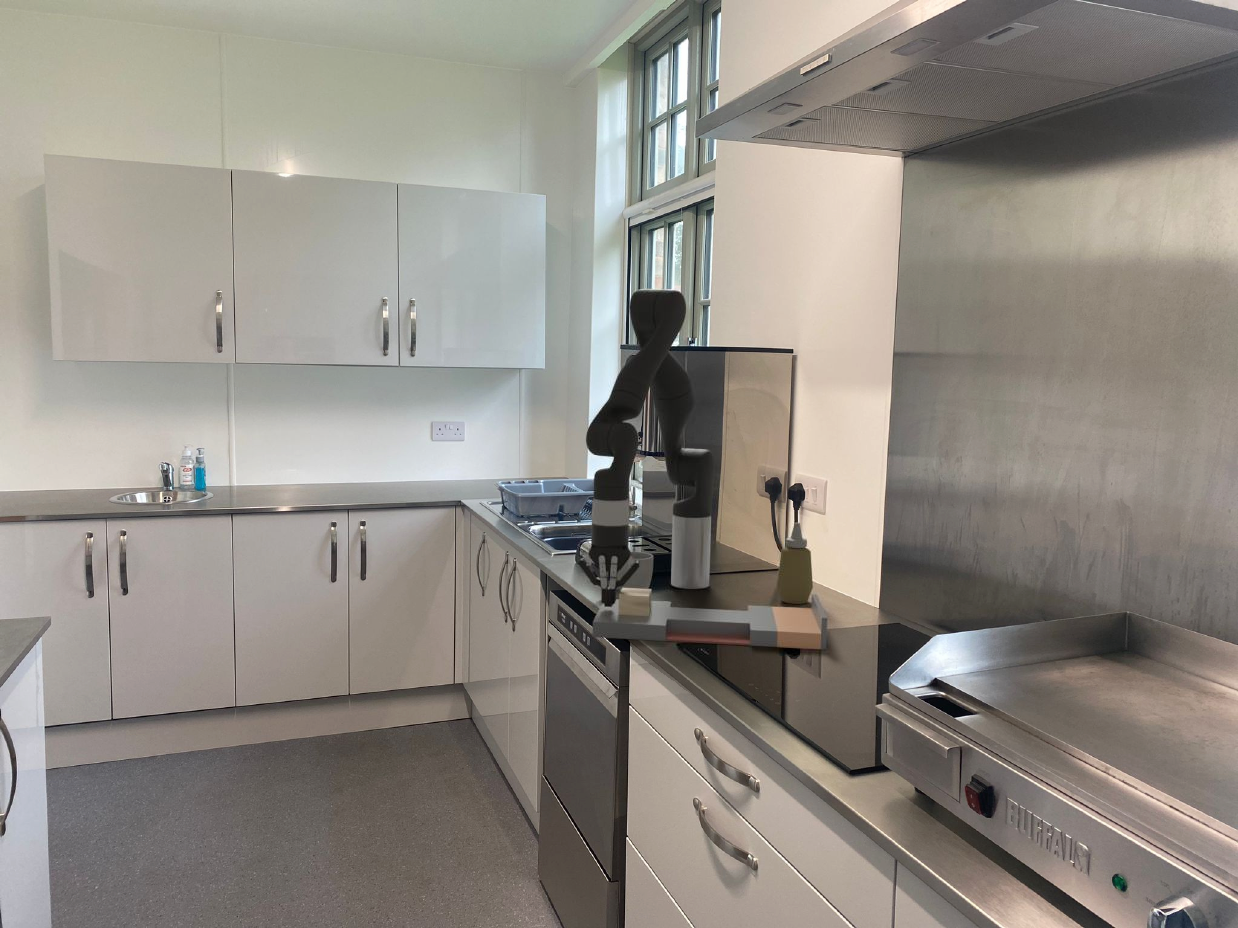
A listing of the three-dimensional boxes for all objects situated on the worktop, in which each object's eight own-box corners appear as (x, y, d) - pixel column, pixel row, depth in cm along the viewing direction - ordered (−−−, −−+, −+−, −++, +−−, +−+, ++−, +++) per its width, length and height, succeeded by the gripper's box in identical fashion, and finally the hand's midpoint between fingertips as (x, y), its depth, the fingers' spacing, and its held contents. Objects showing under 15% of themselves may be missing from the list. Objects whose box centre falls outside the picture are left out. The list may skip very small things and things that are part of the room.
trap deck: (605, 612, 183) (605, 584, 182) (815, 622, 178) (816, 594, 177) (592, 636, 165) (593, 606, 164) (825, 649, 160) (827, 618, 159)
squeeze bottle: (773, 604, 192) (776, 524, 190) (778, 595, 200) (781, 519, 198) (810, 607, 190) (814, 527, 188) (813, 598, 197) (816, 521, 196)
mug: (648, 591, 201) (649, 551, 200) (656, 601, 193) (656, 558, 192) (597, 592, 200) (598, 551, 199) (603, 602, 191) (603, 559, 190)
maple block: (622, 606, 176) (622, 587, 175) (651, 608, 175) (651, 589, 175) (618, 614, 170) (618, 594, 170) (648, 616, 169) (649, 596, 169)
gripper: (645, 519, 174) (642, 603, 176) (581, 516, 176) (579, 599, 178) (641, 525, 167) (639, 612, 169) (574, 522, 169) (572, 608, 170)
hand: (608, 605), depth 173 cm, fingers closed
